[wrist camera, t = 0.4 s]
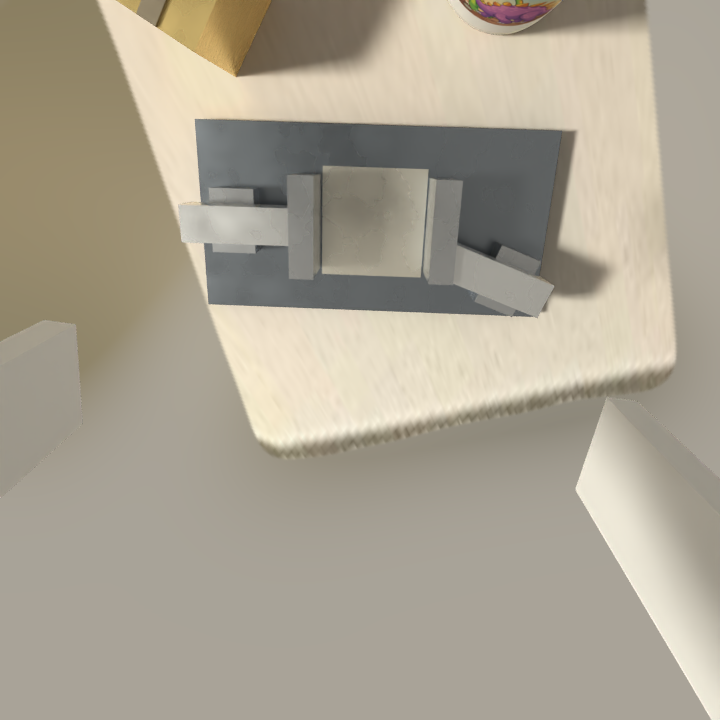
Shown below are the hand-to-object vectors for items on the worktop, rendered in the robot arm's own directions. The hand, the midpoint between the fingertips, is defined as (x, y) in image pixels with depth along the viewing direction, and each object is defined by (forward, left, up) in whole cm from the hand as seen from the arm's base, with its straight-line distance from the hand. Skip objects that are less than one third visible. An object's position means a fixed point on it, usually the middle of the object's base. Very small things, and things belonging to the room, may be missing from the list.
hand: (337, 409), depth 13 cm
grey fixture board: (-2, +1, -25) cm, 25 cm away
